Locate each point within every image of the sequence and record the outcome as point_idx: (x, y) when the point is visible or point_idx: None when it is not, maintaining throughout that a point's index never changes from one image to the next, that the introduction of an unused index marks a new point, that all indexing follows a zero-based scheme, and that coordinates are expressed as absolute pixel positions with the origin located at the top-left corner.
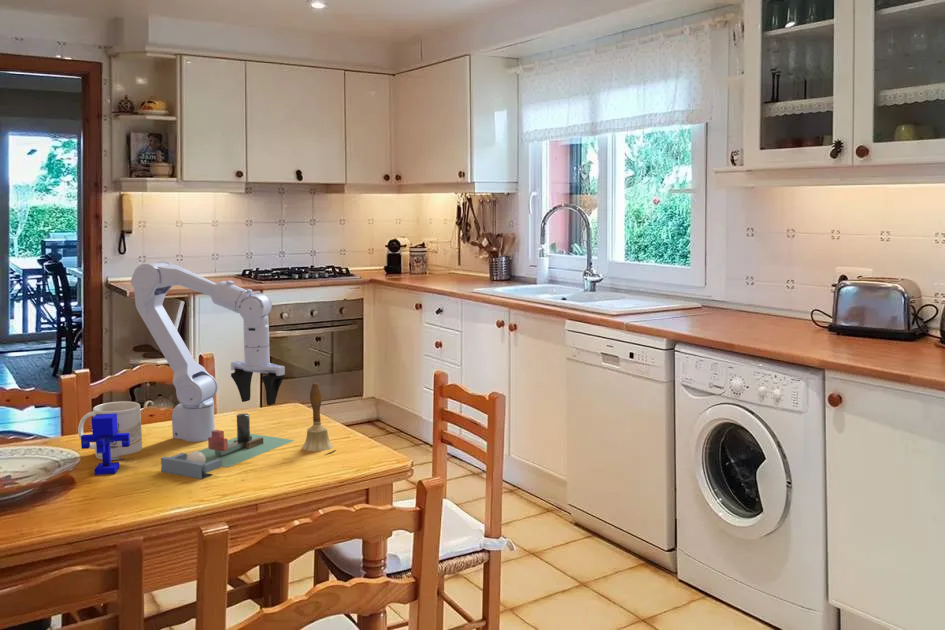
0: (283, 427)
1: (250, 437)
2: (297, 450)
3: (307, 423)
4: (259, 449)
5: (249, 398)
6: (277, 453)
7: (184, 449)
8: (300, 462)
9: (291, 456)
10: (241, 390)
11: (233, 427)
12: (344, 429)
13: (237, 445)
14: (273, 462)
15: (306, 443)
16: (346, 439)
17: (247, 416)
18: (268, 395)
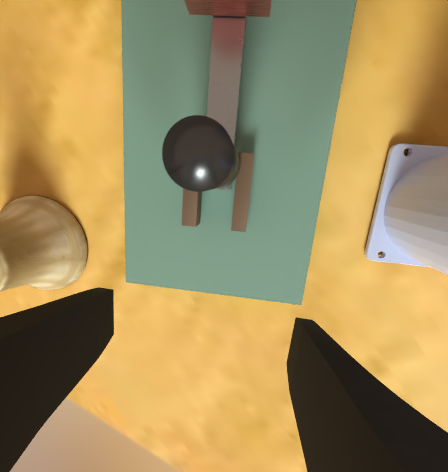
0: (258, 405)
1: (232, 223)
2: (91, 230)
3: (220, 447)
4: (157, 159)
5: (288, 370)
6: (120, 185)
7: (436, 104)
8: (11, 133)
9: (68, 174)
10: (329, 364)
11: (403, 374)
12: (106, 421)
13: (208, 109)
14: (73, 100)
15: (29, 221)
16: None
17: (163, 148)
18: (35, 307)
